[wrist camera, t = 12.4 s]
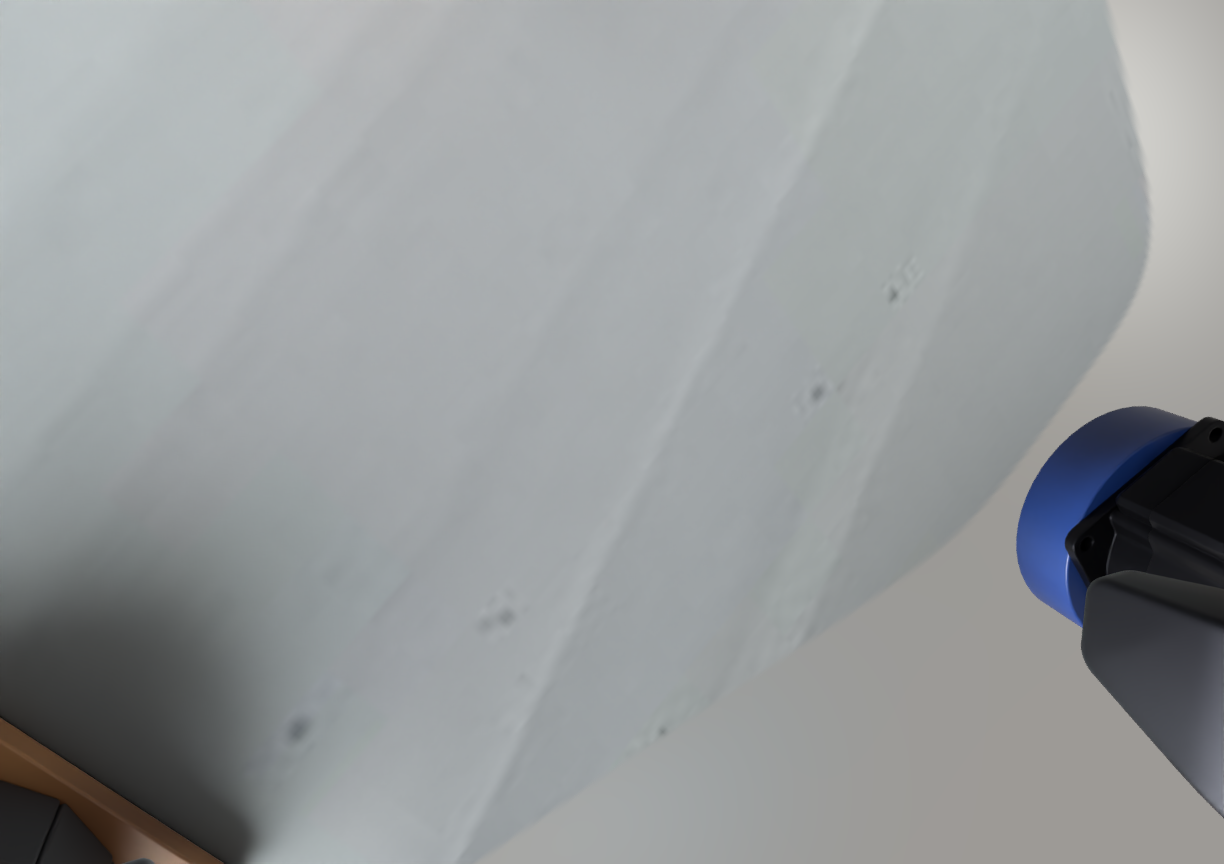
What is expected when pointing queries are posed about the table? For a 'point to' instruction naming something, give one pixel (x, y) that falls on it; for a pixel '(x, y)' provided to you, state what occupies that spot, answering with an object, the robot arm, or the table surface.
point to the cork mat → (94, 804)
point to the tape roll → (44, 831)
